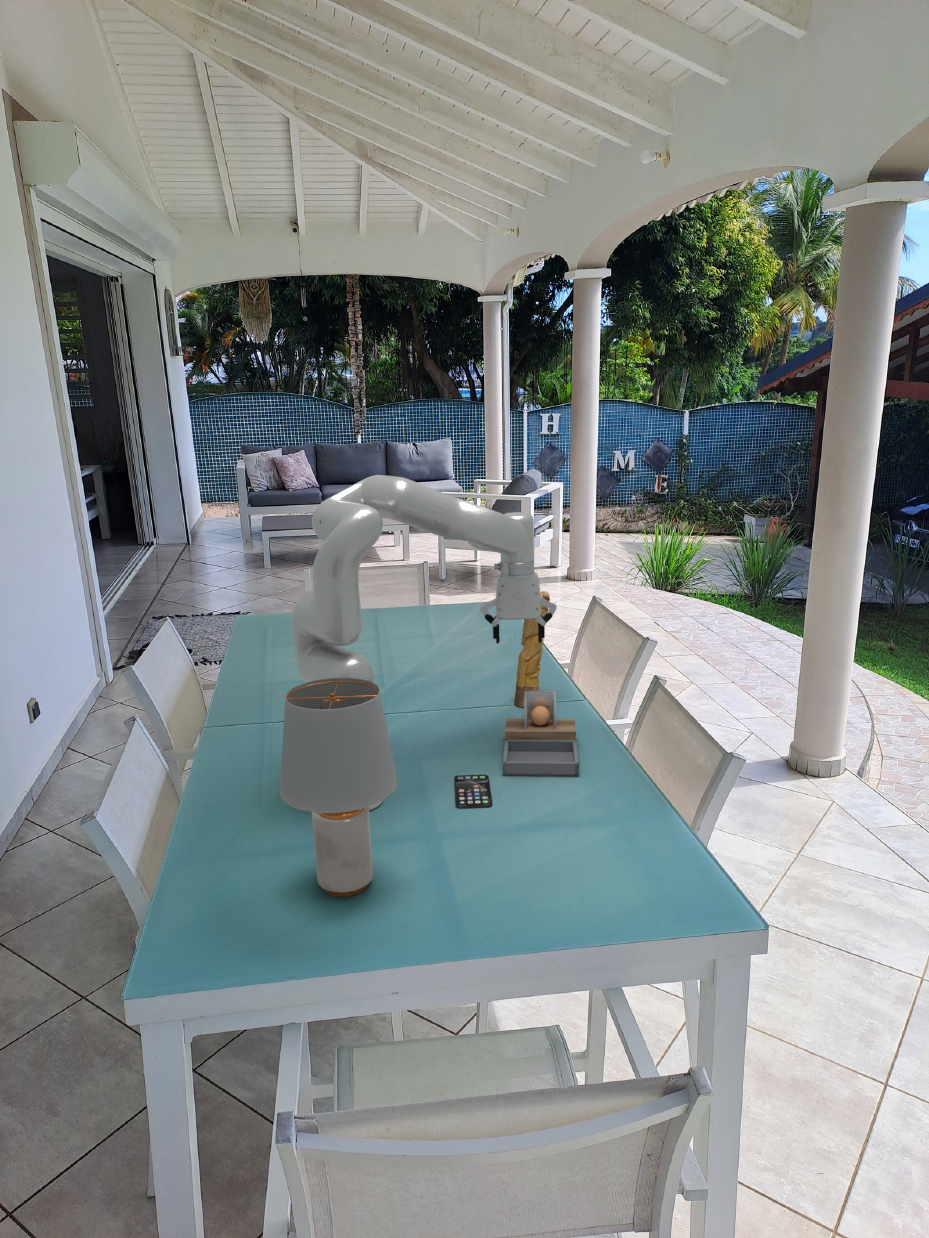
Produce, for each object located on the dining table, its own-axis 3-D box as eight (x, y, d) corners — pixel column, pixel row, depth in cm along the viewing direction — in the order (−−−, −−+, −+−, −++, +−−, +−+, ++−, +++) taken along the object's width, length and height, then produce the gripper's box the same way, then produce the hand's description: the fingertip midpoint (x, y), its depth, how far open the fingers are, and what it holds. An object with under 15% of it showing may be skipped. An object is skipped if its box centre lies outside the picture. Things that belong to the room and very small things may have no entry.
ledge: (576, 752, 195) (576, 731, 194) (505, 751, 197) (504, 731, 195) (574, 738, 203) (574, 718, 202) (506, 738, 204) (506, 718, 203)
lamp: (403, 851, 155) (395, 671, 146) (399, 913, 137) (389, 712, 128) (297, 856, 155) (282, 675, 146) (279, 918, 136) (261, 716, 128)
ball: (550, 728, 196) (550, 710, 195) (530, 728, 197) (530, 710, 196) (549, 721, 201) (549, 703, 200) (530, 721, 201) (530, 703, 200)
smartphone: (488, 774, 185) (493, 806, 171) (488, 777, 185) (493, 809, 171) (453, 775, 185) (455, 807, 170) (453, 778, 185) (455, 810, 171)
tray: (578, 776, 183) (578, 763, 182) (503, 775, 185) (503, 762, 184) (576, 752, 195) (576, 740, 195) (505, 751, 197) (505, 739, 196)
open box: (556, 730, 195) (556, 700, 194) (524, 729, 196) (524, 700, 194) (555, 719, 202) (555, 690, 200) (524, 719, 202) (524, 690, 201)
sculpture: (551, 708, 223) (551, 594, 215) (515, 709, 223) (513, 595, 215) (548, 699, 229) (548, 588, 222) (513, 700, 229) (512, 589, 222)
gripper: (478, 572, 190) (480, 646, 195) (557, 570, 189) (557, 645, 194) (479, 565, 198) (481, 637, 202) (555, 563, 197) (556, 636, 201)
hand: (518, 641), depth 198 cm, fingers open, 9 cm apart
